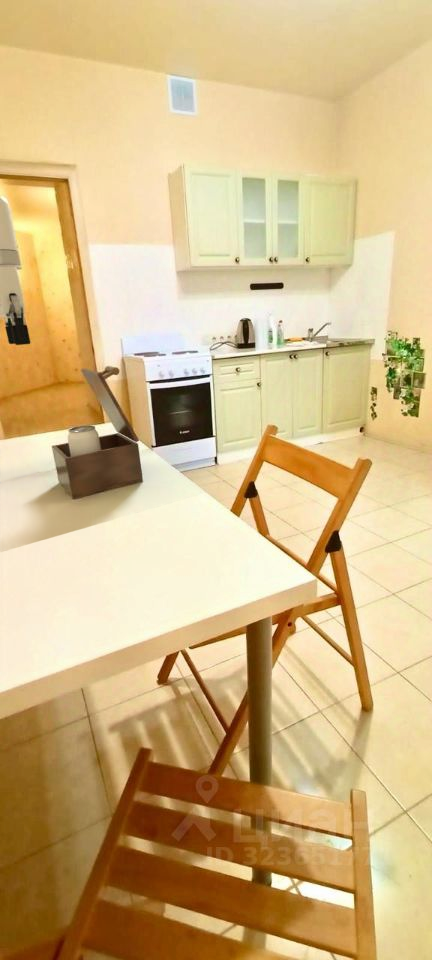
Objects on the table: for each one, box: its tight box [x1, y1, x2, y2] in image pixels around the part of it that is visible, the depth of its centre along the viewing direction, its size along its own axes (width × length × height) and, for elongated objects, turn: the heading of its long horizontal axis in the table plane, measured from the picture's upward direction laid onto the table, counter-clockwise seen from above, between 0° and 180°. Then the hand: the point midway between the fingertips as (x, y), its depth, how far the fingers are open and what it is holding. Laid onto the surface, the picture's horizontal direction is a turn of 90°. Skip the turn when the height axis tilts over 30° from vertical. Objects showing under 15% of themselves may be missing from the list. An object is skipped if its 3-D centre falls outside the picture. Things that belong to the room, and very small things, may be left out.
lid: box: [80, 365, 140, 443], centre depth 98 cm, size 16×13×5 cm
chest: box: [51, 432, 144, 500], centre depth 100 cm, size 16×13×9 cm
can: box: [67, 424, 101, 457], centre depth 98 cm, size 6×6×12 cm
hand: (19, 343), depth 103 cm, fingers open, 9 cm apart
